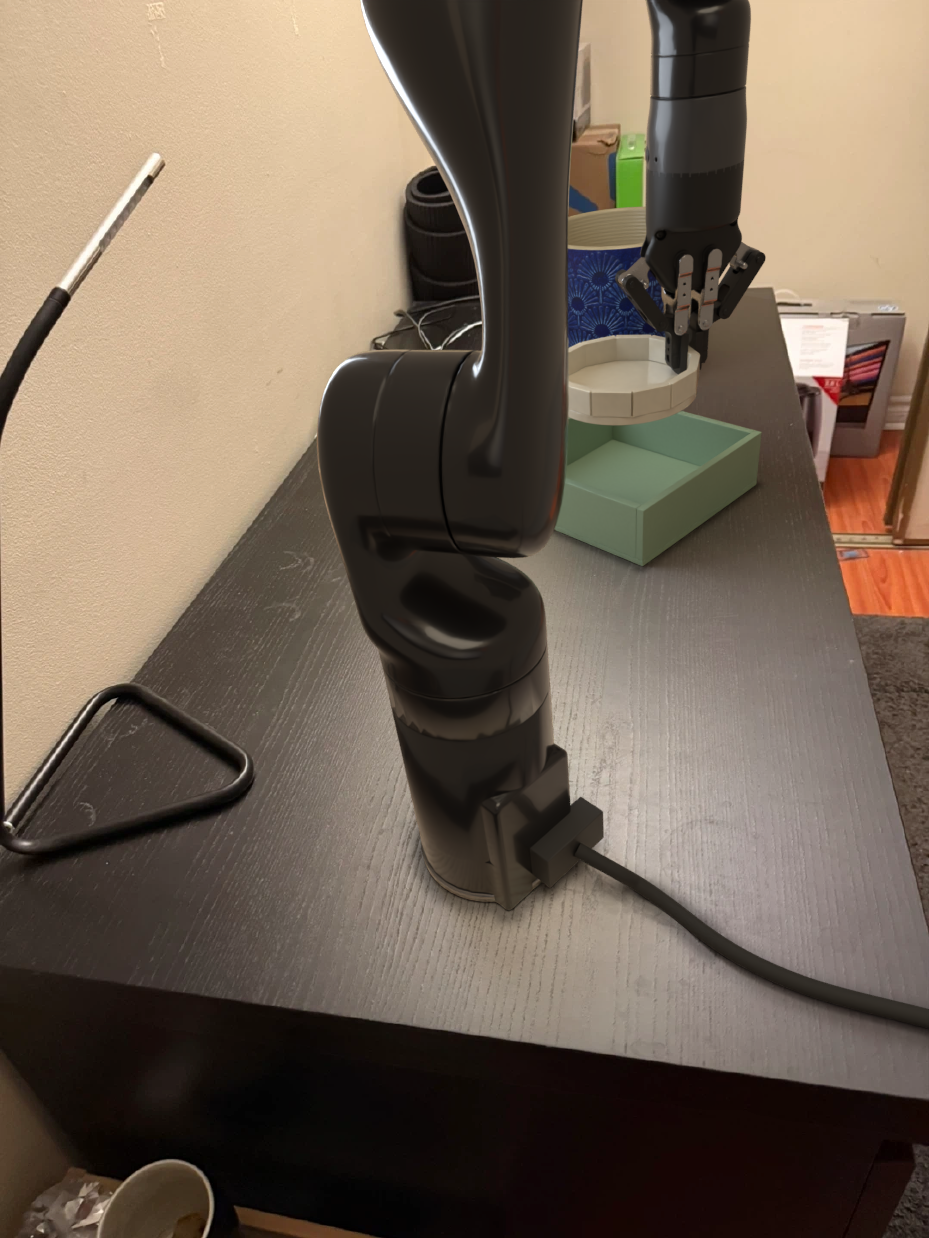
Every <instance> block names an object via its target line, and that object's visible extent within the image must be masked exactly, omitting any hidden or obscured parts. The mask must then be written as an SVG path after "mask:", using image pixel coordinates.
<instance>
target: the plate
mask: <svg viewBox="0 0 929 1238" xmlns="http://www.w3.org/2000/svg"><path fill="white" fill-rule="evenodd" d="M568 356H569V418H572V419H575V420H578V421H582V422H586V423H591V424H599V425H633V424H641V423H647V422H652V421H656V420H660V419H663V418H666V417H669V416H672V415H674V414H676V413H678V412H680V411H684V410H685V409H687V408H688V407H689V406H691V404H692V403H693V402H694V401H695V400H696V397H697V394H698V384H699V380H700V371H701V370H700V354H699V353H698V352H697V351H695V350H694V349H693V348H691V347H690V346H689V345H688V353H687V370H685V371H684V372H682V373H680V374H677V373H675V372H674V371H673V370H672V369H671V367H670V366H668V365H667V364H666V361H665V337H660V336H656V335H652V336H651V335H616V336H615V335H613V336H608V337H603V338H598V339H593V340H588V341H584V342H582V343H578V344H576V345H574V346H572V347H570V348H568Z"/></svg>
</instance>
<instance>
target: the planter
mask: <svg viewBox="0 0 929 1238" xmlns="http://www.w3.org/2000/svg"><path fill="white" fill-rule="evenodd" d="M645 237H646V206H626V207H615V208H606V209H600V210H599V209H598V210H594V211H587V212H583V213H579V214H578V213H577V214H575V215H570V216H568V348H570V347H572V346H574V345H576V344H578V343H582V342H584V341H588V340H593V339H598V338H603V337H608V336H613V335H615V336H616V335H651V336H652V335H656V336H660V337H665V335H666V334H665V331H663V332H659V331H657V330H656V329H654V328H653V327H652V326H650V325H649V324H648V323H647V322H646V321H645V320H644V319H643V317H642V316H641V315H640V313H639V312H638V311H637V309H636V308H635V307H634V305H633V304H632V303H631V301H630V300H629V299H628V297H627V296H626V295H625V293H624V292H623V291H622V289H621V288H620V287H619V285H618V284H617V283H616V281H615V275H616V273H617V272H618V271H620V270H626V271H627V270H628V269H629V268H630V267H631V266H632V265H633V264H634V263H635V262H637V261H638V260H639V259H640V258H641V255H640V251H641V247H642V245H643V243H644V240H645ZM648 279H649V287H648V288H647V289H646V291H647V292H648V294H649V295H650V296H651V298H652V299H653V301H654V302H655V303H656V305H657V306H658V307H659V309H660V310H661V312H662V313H664V303H663V300H662V297H661V285H660V284H659V283H658V281H657V280H656V279H655V277H654V276H653V275H652V273H651V272H650V271H648ZM689 323H690V321H689V319H688V325H689Z"/></svg>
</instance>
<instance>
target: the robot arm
mask: <svg viewBox="0 0 929 1238" xmlns="http://www.w3.org/2000/svg"><path fill="white" fill-rule="evenodd" d="M359 1H360V2H359V3H360V10H361V14H362V17H363V22H364V26H365V28H366V32H367V34H368V37H369V39H370V42H371V45H372V48H373V50H374V53H375V55H376V57H377V60H378V62H379V64H380V67H381V69H382V71H383V73H384V75H385V77H386V79H387V81H388V83H389V84H390V87H391V88H392V91H393V93H394V94H395V97H396V98H397V100H398V102H399V104H400V105H401V107H402V109H403V111H404V112H405V115H406V116H407V118H408V120H409V121H410V123H411V125H412V127H413V129H414V130H415V133H416V134H417V135H418V137H419V139H420V140H421V142H422V144H423V146H424V148H425V150H426V151H427V153H428V154H429V156H430V158H431V160H432V161H433V163H434V165H435V167H436V169H437V170H438V172H439V175H440V177H441V179H442V181H443V182H444V184H445V186H446V188H447V190H448V193H449V195H450V196H451V199H452V201H453V204H454V205H455V208H456V210H457V213H458V215H459V218H460V220H461V223H462V225H463V229H464V230H465V234H466V237H467V239H468V242H469V246H470V250H471V254H472V258H473V262H474V268H475V273H476V278H477V285H478V293H479V301H480V302H479V303H480V314H481V317H480V318H481V349H478V350H477V349H371V350H365V351H359V352H357V353H355V354H352V355H350V356H348V357H347V358H345V359H344V360H342V361H341V362H340V363H339V364H338V365H337V367H335V369H334V370H333V372H332V373H331V374H330V376H329V378H328V380H327V383H326V385H325V387H324V389H323V392H322V395H321V399H320V402H319V409H318V417H317V424H316V451H317V452H316V454H317V465H318V472H319V479H320V484H321V489H322V494H323V498H324V499H323V500H324V503H325V507H326V510H327V514H328V515H327V516H328V518H329V520H330V525H331V528H332V532H333V535H334V538H335V542H336V545H337V547H338V552H339V554H340V557H341V561H342V564H343V567H344V571H345V574H346V576H347V580H348V583H349V587H350V590H351V593H352V597H353V600H354V604H355V608H356V611H357V615H358V618H359V622H360V623H361V626H362V628H363V630H364V633H365V634H366V636H367V638H368V639H369V641H370V642H371V643H372V645H373V646H374V647H375V648H376V649H377V653H378V655H379V660H380V664H381V668H382V671H383V672H382V673H383V677H384V680H385V685H386V689H387V694H388V699H389V705H390V707H391V712H392V717H393V718H392V719H393V722H394V727H395V731H396V735H397V740H398V744H399V749H400V753H401V757H402V763H403V766H404V772H405V776H406V780H407V784H408V789H409V792H410V793H409V794H410V798H411V802H412V806H413V811H414V816H415V821H416V823H417V827H418V828H417V829H418V833H419V837H420V844H421V846H420V847H421V852H422V857H423V861H424V865H425V867H426V869H427V870H428V871H427V872H429V874H430V875H431V876H432V878H433V879H434V881H436V882H437V884H439V886H440V887H442V888H443V889H444V890H446V891H448V892H449V893H452V894H453V895H455V896H457V897H460V898H463V899H466V900H470V901H475V902H483V903H485V902H487V903H496V904H498V905H500V906H501V907H502V908H503V909H504V910H506V911H511V910H513V909H514V908H515V907H516V906H518V904H519V903H520V902H522V901H523V900H524V899H525V898H526V897H527V896H528V895H529V894H530V893H531V892H533V890H535V889H536V888H537V887H538V886H540V885H541V884H542V883H543V884H544V885H545V886H547V888H549V889H551V888H552V887H553V886H554V885H555V884H556V883H557V882H559V881H560V880H561V879H562V878H563V877H564V876H565V875H566V874H567V873H568V872H569V871H570V870H571V869H572V868H573V867H575V865H576V864H578V863H579V862H580V861H581V862H583V863H585V864H586V865H588V866H590V867H592V868H593V869H596V870H597V871H599V872H601V873H602V874H604V875H606V876H608V877H609V878H612V879H613V880H615V881H617V882H619V883H620V884H622V885H624V886H626V887H627V888H630V889H631V890H633V891H634V892H636V893H637V894H639V895H640V896H642V897H643V898H645V899H646V900H647V901H649V902H650V903H652V904H653V905H655V906H657V907H658V908H659V909H660V910H662V911H663V912H665V913H666V914H668V916H670V917H671V918H672V919H674V920H675V921H676V922H677V923H678V924H680V925H681V926H683V927H684V928H685V929H686V930H687V931H689V932H690V933H691V934H692V935H694V936H695V937H696V938H697V939H699V940H700V941H701V942H702V943H704V944H705V945H707V946H708V947H709V948H711V949H712V950H713V951H715V952H716V953H718V954H720V955H721V956H723V957H724V958H726V959H727V960H730V961H731V962H733V963H734V964H736V965H738V966H739V967H742V968H743V969H745V970H747V971H749V972H751V973H753V974H754V975H757V976H758V977H761V978H763V979H765V980H767V981H770V982H772V983H774V984H777V985H778V986H781V987H783V988H786V989H788V990H790V991H794V992H796V993H799V994H802V995H805V996H807V997H811V998H814V999H816V1000H819V1001H822V1002H825V1003H829V1004H833V1005H835V1006H839V1007H843V1008H846V1009H851V1010H854V1011H857V1012H861V1013H862V1012H863V1013H867V1014H870V1015H874V1016H877V1017H881V1018H886V1019H889V1020H894V1021H897V1022H902V1023H905V1024H910V1025H914V1026H918V1027H922V1028H925V1029H929V1008H926V1007H923V1006H919V1005H915V1004H910V1003H907V1002H902V1001H898V1000H894V999H891V998H886V997H883V996H878V995H873V994H870V993H866V992H863V991H857V990H854V989H849V988H847V987H846V988H845V987H842V986H839V985H836V984H831V983H827V982H824V981H821V980H818V979H815V978H812V977H809V976H806V975H803V974H800V973H798V972H795V971H794V970H790V969H787V968H785V967H783V966H781V965H779V964H776V963H774V962H772V961H770V960H768V959H765V958H763V957H761V956H759V955H757V954H755V953H753V952H751V951H750V950H747V949H745V948H743V947H742V946H740V945H738V944H737V943H735V942H733V941H732V940H730V939H729V938H727V937H726V936H724V935H723V934H721V933H719V932H718V931H716V930H715V929H714V928H712V927H711V926H709V925H708V924H707V923H705V922H704V921H703V920H701V919H700V918H699V917H697V916H696V915H695V914H694V913H692V912H691V911H689V910H688V909H687V908H686V907H685V906H683V905H681V903H679V902H678V901H676V900H675V899H674V898H673V897H671V896H670V895H669V894H667V893H665V892H664V891H663V890H661V888H659V887H658V886H656V885H655V884H653V883H652V882H650V881H649V880H647V879H645V878H644V877H642V876H641V875H640V874H637V873H636V872H634V871H632V870H630V869H629V868H626V867H625V866H623V865H621V864H620V863H618V862H616V861H615V860H612V859H611V858H609V857H607V856H606V855H603V854H602V853H599V851H596V850H595V849H593V848H594V847H596V846H597V844H599V843H600V842H601V841H602V840H603V839H604V838H605V833H604V831H605V830H604V829H605V828H604V811H603V810H602V809H601V808H599V807H598V806H596V805H594V804H593V803H592V802H590V801H588V800H587V799H585V797H583V796H579V797H578V798H577V799H576V800H574V801H573V803H571V788H570V787H571V786H570V771H569V770H570V769H569V755H568V751H567V750H566V749H565V748H562V747H561V746H560V745H558V744H556V743H555V735H554V734H555V733H554V719H553V706H552V705H553V704H552V691H551V674H550V673H551V672H550V659H549V658H550V657H549V644H548V627H547V614H546V608H545V603H544V600H543V596H542V594H541V591H540V590H539V588H538V586H537V585H536V584H535V582H534V581H533V580H532V578H530V577H529V576H528V575H527V574H526V573H525V572H523V570H521V569H519V568H518V567H516V566H515V565H513V564H511V563H509V562H508V561H506V560H504V559H523V558H525V559H526V558H529V557H532V556H535V555H536V554H538V553H540V552H541V551H542V550H543V549H544V548H545V546H546V545H547V544H548V543H549V541H550V540H551V538H552V536H553V534H554V532H555V531H556V530H555V527H556V524H557V521H558V518H559V514H560V510H561V506H562V502H563V496H564V488H565V481H566V471H567V456H568V417H569V356H568V217H569V209H570V208H569V206H570V205H569V204H570V184H571V182H570V181H571V180H570V179H571V163H572V162H571V161H572V145H573V134H574V133H573V132H574V119H575V102H576V89H577V87H576V86H577V76H578V75H577V74H578V62H579V52H580V51H579V49H580V39H581V29H582V28H581V27H582V15H583V2H584V0H359ZM645 7H646V12H647V17H648V23H649V30H650V87H649V88H650V91H649V92H650V93H649V94H650V97H649V98H650V99H649V109H648V115H647V116H648V117H647V123H646V136H645V137H646V140H645V141H646V146H645V149H644V160H645V207H646V237H645V240H644V243H643V245H642V247H641V251H640V255H641V258H640V259H639V260H638V261H637V262H635V263H634V264H633V265H632V266H631V267H630V268H629V269H628V270H627V271H626V270H620V271H618V272H617V273H616V275H615V281H616V283H617V284H618V285H619V287H620V288H621V289H622V291H623V292H624V293H625V295H626V296H627V297H628V299H629V300H630V301H631V303H632V304H633V305H634V307H635V308H636V309H637V311H638V312H639V313H640V315H641V316H642V317H643V319H644V320H645V321H646V322H647V323H648V324H649V325H650V326H652V327H653V328H654V329H656V330H657V331H659V332H663V331H665V334H666V335H665V361H666V364H667V365H668V366H670V367H671V369H672V370H673V371H674V372H675V373H677V374H680V373H682V372H684V371H685V370H687V353H688V345H689V346H690V347H691V348H693V349H694V350H695V351H697V352H698V353H699V354H700V370H699V371H701V370H702V366H703V364H705V363H706V361H707V359H708V353H709V352H708V350H709V336H710V335H709V333H710V329H711V327H712V326H713V325H714V323H716V322H718V321H719V320H727V319H729V318H730V317H731V315H732V314H733V312H734V311H735V309H736V308H737V306H738V305H739V303H740V302H741V300H742V299H743V296H745V293H747V290H748V289H749V287H750V286H751V284H752V283H753V281H754V280H755V278H756V276H757V275H758V273H759V272H760V270H761V268H762V267H763V265H764V264H765V262H766V253H764V252H762V251H760V250H759V249H757V248H755V247H752V246H750V245H748V244H746V243H744V242H743V234H742V231H741V229H740V227H739V217H740V215H741V211H742V196H743V185H744V184H743V183H744V168H745V156H746V142H747V130H748V129H747V128H748V108H747V86H746V85H747V80H748V66H749V51H750V40H751V39H750V38H751V29H752V28H751V27H752V9H751V8H752V7H751V4H750V1H749V0H645ZM728 266H729V268H728V269H727V267H728ZM726 269H727V270H726ZM648 271H650V272H651V273H652V275H653V276H654V277H655V279H656V280H657V281H658V283H659V284H660V285H661V297H662V300H663V303H664V313H662V312H661V310H660V309H659V307H658V306H657V305H656V303H655V302H654V301H653V299H652V298H651V296H650V295H649V294H648V292H647V291H646V289H647V288H648V287H649V279H648ZM725 271H726V272H725ZM724 272H725V274H724V275H723V273H724ZM722 275H723V277H722ZM721 277H722V279H721V280H720V278H721ZM688 319H689V321H690V323H689V325H688ZM501 558H502V559H501Z"/></svg>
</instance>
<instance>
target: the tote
mask: <svg viewBox="0 0 929 1238" xmlns="http://www.w3.org/2000/svg"><path fill="white" fill-rule="evenodd" d="M762 433H763V432H762V431H760V430H756V429H752V428H748V427H744V426H740V425H737V424H734V423H729V422H725V421H721V420H719V419H714V418H710V417H706V416H702V415H699V414H695V413H692V412H687V411H684V410H682V411H680V412H678V413H676V414H674V415H672V416H669V417H666V418H663V419H660V420H656V421H652V422H647V423H641V424H633V425H599V424H591V423H586V422H582V421H578V420H575V419H572V418H569V417H568V456H567V471H566V481H565V488H564V496H563V502H562V506H561V510H560V514H559V518H558V521H557V524H556V527H555V530H554V531H556V532H558V533H561V534H564V535H565V536H568V537H571V538H573V539H575V540H577V541H581V542H583V543H585V544H587V545H590V546H592V547H595V548H597V549H600V550H602V551H605V552H607V553H609V554H611V555H614V556H616V557H619V558H622V559H623V560H625V561H628V562H631V563H633V564H635V565H638V566H639V567H640V566H641V567H644V566H645V565H647V564H648V563H650V562H651V561H652V560H654V559H655V558H657V557H658V556H660V555H661V554H662V553H664V552H665V551H666V550H667V549H669V548H671V547H672V546H673V545H675V544H676V543H678V542H679V541H680V540H681V539H683V538H684V537H685V536H687V535H688V534H690V533H691V532H693V531H694V530H695V529H697V528H698V527H700V526H701V525H703V524H704V523H706V522H707V521H708V520H709V519H711V518H712V517H714V516H715V515H716V514H718V513H719V512H720V511H722V510H723V509H724V508H726V507H727V506H729V505H730V504H731V503H733V502H734V501H736V500H738V498H740V497H742V496H743V495H745V493H747V492H748V491H750V490H751V489H752V488H754V487H755V486H756V485H757V481H758V472H759V471H758V470H759V461H760V454H761V453H760V452H761V444H762V435H763V434H762Z"/></svg>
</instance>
